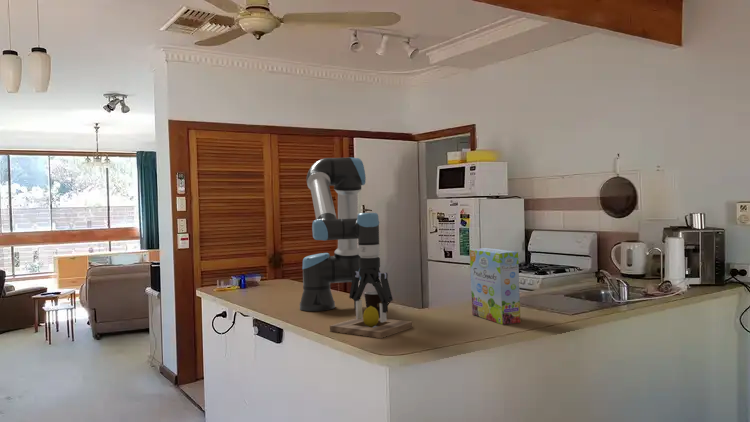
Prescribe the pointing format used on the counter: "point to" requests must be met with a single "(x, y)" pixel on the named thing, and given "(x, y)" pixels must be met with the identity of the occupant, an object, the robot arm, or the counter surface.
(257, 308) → the counter surface
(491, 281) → the snack box
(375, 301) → the coffee mug
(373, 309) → the lemon
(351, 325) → the pocket board
